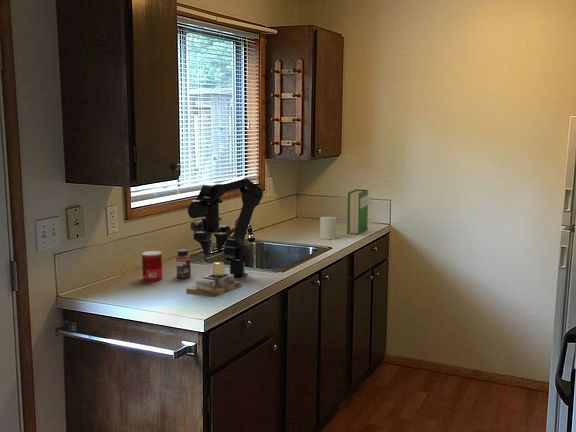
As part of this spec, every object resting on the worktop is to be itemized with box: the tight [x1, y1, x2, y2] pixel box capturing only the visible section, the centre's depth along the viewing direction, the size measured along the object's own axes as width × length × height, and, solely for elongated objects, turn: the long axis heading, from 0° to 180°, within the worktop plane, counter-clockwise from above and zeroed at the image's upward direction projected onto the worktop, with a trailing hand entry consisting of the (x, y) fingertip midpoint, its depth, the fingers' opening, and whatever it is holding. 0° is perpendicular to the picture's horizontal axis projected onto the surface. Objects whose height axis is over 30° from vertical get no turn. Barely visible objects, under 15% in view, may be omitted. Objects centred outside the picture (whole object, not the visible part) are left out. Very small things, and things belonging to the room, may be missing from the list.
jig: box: [185, 272, 242, 298], centre depth 245 cm, size 18×13×4 cm
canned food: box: [141, 250, 163, 282], centre depth 261 cm, size 8×8×11 cm
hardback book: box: [346, 188, 369, 235], centre depth 367 cm, size 18×7×24 cm, turn 159°
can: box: [319, 215, 337, 240], centre depth 349 cm, size 9×9×12 cm
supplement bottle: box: [175, 248, 192, 279], centre depth 264 cm, size 6×6×11 cm
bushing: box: [212, 261, 225, 278], centre depth 248 cm, size 4×4×8 cm
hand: (212, 253), depth 254 cm, fingers open, 9 cm apart
